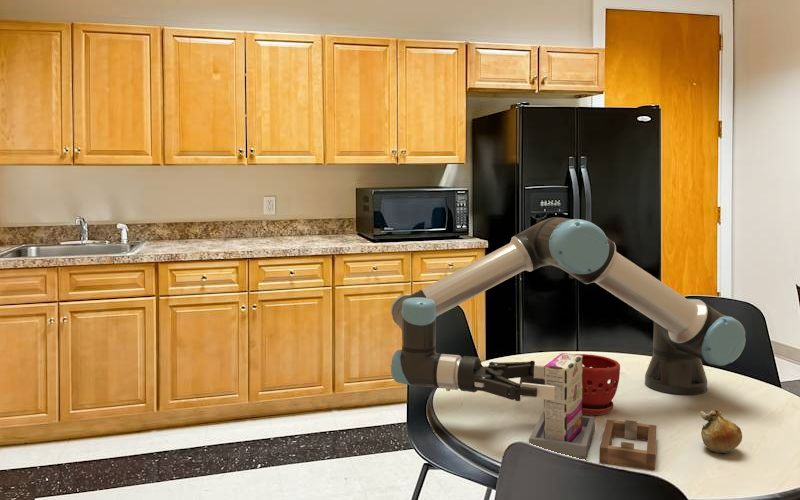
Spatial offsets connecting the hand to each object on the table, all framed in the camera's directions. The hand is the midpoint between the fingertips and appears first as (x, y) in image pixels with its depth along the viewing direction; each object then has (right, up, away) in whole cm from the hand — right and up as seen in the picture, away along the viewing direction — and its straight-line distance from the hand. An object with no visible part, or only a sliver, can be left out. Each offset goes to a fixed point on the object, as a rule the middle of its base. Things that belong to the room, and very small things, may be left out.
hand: (560, 383), depth 139 cm
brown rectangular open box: (+13, -13, -3) cm, 19 cm away
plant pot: (+12, -10, +21) cm, 26 cm away
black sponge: (+5, -9, +36) cm, 37 cm away
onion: (+31, -13, -4) cm, 34 cm away
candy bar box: (+1, -12, +1) cm, 12 cm away
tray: (+1, -12, +1) cm, 12 cm away
